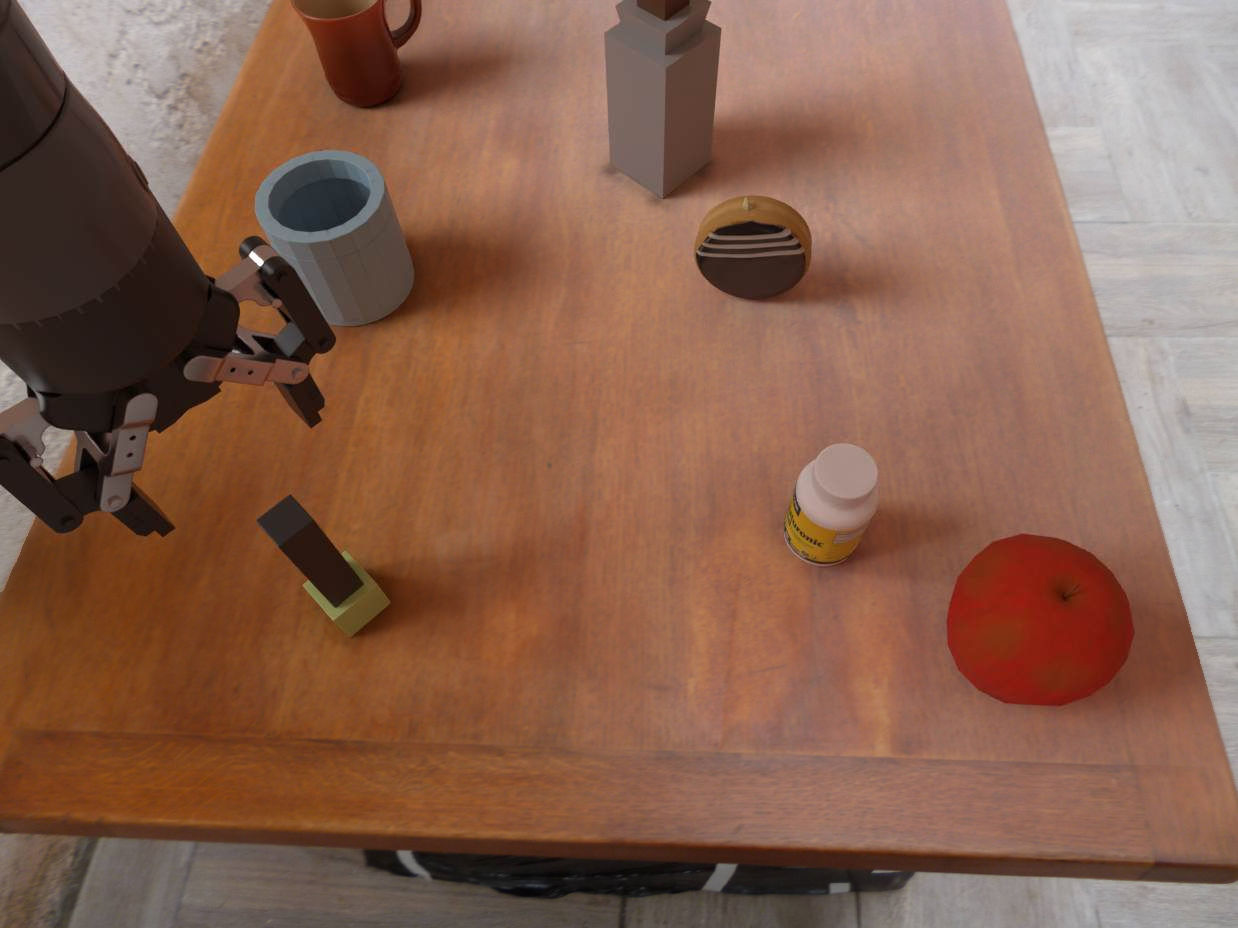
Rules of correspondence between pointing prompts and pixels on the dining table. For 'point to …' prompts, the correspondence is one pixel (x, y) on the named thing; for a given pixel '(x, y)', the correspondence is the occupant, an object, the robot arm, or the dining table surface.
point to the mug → (358, 46)
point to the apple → (1038, 622)
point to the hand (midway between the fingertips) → (235, 466)
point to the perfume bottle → (661, 90)
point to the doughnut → (753, 247)
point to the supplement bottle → (832, 505)
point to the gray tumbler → (338, 234)
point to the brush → (324, 567)
